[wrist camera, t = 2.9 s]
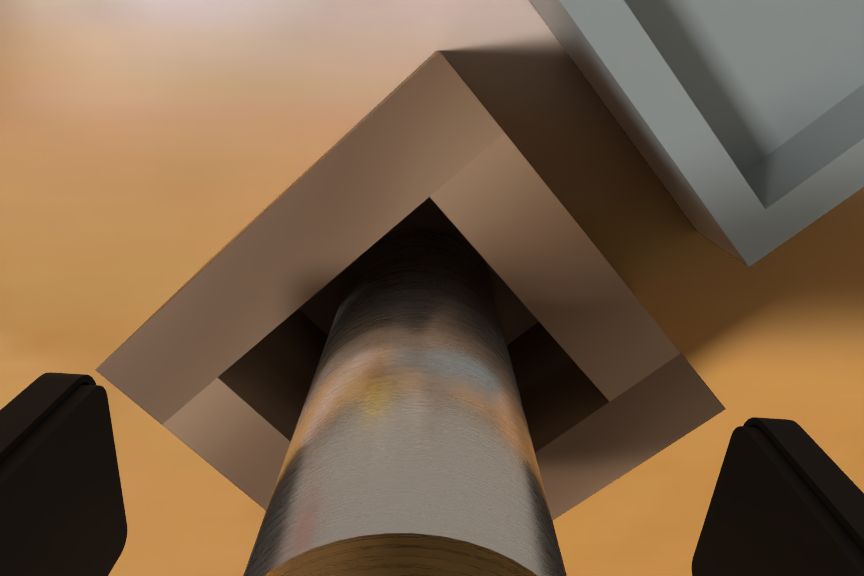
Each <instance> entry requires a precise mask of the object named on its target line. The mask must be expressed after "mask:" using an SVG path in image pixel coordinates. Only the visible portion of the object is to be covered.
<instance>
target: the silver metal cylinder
mask: <svg viewBox="0 0 864 576" xmlns="http://www.w3.org/2000/svg"><path fill="white" fill-rule="evenodd" d="M244 576H566V572H565V568H564V564H563V560H562V556H561V552H560V549H559V545H558V541H557V537H556V533H555V529H554V525H553V522H552V518H551V514H550V510H549V506H548V502H547V498H546V495H545V491H544V487H543V483H542V479H541V475H540V472H539V468H538V464H537V460H536V456H535V452H534V448H533V445H532V441H531V437H530V433H529V429H528V425H527V421H526V418H525V414H524V410H523V406H522V402H521V398H520V394H519V391H518V387H517V383H516V379H515V375H514V371H513V367H512V364H511V360H510V356H509V352H508V348H507V344H506V341H505V337H504V333H503V329H502V325H501V321H500V317H499V314H498V310H497V306H496V302H495V298H494V294H493V290H492V287H491V283H490V279H489V275H488V272H487V270H486V267H485V265H484V263H483V262H482V260H481V258H480V257H479V256H478V254H477V253H476V252H475V251H474V250H473V249H472V248H471V247H470V246H469V245H468V244H467V243H466V242H464V241H463V240H462V239H460V238H459V237H457V236H455V235H453V234H451V233H449V232H446V231H444V230H440V229H437V228H432V227H420V226H414V227H406V228H401V229H397V230H394V231H392V232H389V233H387V234H385V235H384V236H383V237H382V238H380V239H379V240H378V241H377V242H376V243H375V244H373V245H372V246H371V247H370V248H369V249H368V250H366V251H365V252H364V253H363V254H362V255H360V256H359V257H358V259H357V260H356V262H355V264H354V266H353V268H352V271H351V273H350V276H349V279H348V282H347V285H346V287H345V290H344V293H343V296H342V299H341V302H340V304H339V307H338V310H337V313H336V316H335V318H334V321H333V324H332V327H331V330H330V333H329V335H328V338H327V341H326V344H325V347H324V350H323V352H322V355H321V358H320V361H319V364H318V367H317V369H316V372H315V375H314V378H313V381H312V383H311V386H310V389H309V392H308V395H307V398H306V400H305V403H304V406H303V409H302V412H301V415H300V417H299V420H298V423H297V426H296V429H295V431H294V434H293V437H292V440H291V443H290V446H289V448H288V451H287V454H286V457H285V460H284V463H283V465H282V468H281V471H280V474H279V477H278V479H277V482H276V485H275V488H274V491H273V494H272V496H271V499H270V502H269V505H268V508H267V511H266V513H265V516H264V519H263V522H262V525H261V527H260V530H259V533H258V536H257V539H256V542H255V544H254V547H253V550H252V553H251V556H250V559H249V561H248V564H247V567H246V570H245V573H244Z"/></svg>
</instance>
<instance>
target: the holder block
mask: <svg viewBox="0 0 864 576" xmlns="http://www.w3.org/2000/svg"><path fill="white" fill-rule="evenodd" d="M414 226H420V227H432V228H437V229H440V230H444V231H446V232H449V233H451V234H453V235H455V236H457V237H459V238H460V239H462V240H463V241H464V242H466V243H467V244H468V245H469V246H470V247H471V248H472V249H473V250H474V251H475V252H476V253H477V254H478V256H479V257H480V258H481V260H482V262H483V263H484V265H485V267H486V270H487V272H488V275H489V279H490V283H491V287H492V290H493V294H494V298H495V302H496V306H497V310H498V314H499V317H500V321H501V325H502V329H503V333H504V337H505V341H506V344H507V348H508V352H509V356H510V360H511V364H512V367H513V371H514V375H515V379H516V383H517V387H518V391H519V394H520V398H521V402H522V406H523V410H524V414H525V418H526V421H527V425H528V429H529V433H530V437H531V441H532V445H533V448H534V452H535V456H536V460H537V464H538V468H539V472H540V475H541V479H542V483H543V487H544V491H545V495H546V498H547V502H548V506H549V510H550V514H551V518H552V521H553V520H554V519H556V518H557V517H559V516H561V515H562V514H564V513H565V512H567V511H568V510H570V509H571V508H573V507H574V506H576V505H578V504H579V503H581V502H582V501H584V500H585V499H587V498H588V497H590V496H592V495H593V494H595V493H596V492H598V491H599V490H601V489H602V488H604V487H606V486H607V485H609V484H610V483H612V482H613V481H615V480H616V479H618V478H619V477H621V476H623V475H624V474H626V473H627V472H629V471H630V470H632V469H633V468H635V467H637V466H638V465H640V464H641V463H643V462H644V461H646V460H647V459H649V458H651V457H652V456H654V455H655V454H657V453H658V452H660V451H661V450H663V449H664V448H666V447H668V446H669V445H671V444H672V443H674V442H675V441H677V440H678V439H680V438H682V437H683V436H685V435H686V434H688V433H689V432H691V431H692V430H694V429H696V428H697V427H699V426H700V425H702V424H703V423H705V422H706V421H708V420H710V419H711V418H713V417H714V416H716V415H717V414H719V413H720V412H722V411H723V410H725V407H724V406H723V405H722V404H721V402H720V401H719V400H718V399H717V397H716V396H715V395H714V394H713V392H712V391H711V390H710V389H709V387H708V386H707V385H706V384H705V382H704V381H703V380H702V379H701V377H700V376H699V375H698V374H697V372H696V371H695V370H694V369H693V367H692V366H691V365H690V364H689V362H688V361H687V360H686V359H685V357H684V356H683V355H682V354H681V352H680V351H679V350H678V349H677V347H676V346H675V345H674V344H673V342H672V341H671V340H670V339H669V337H668V336H667V335H666V334H665V332H664V331H663V330H662V329H661V327H660V326H659V325H658V324H657V322H656V321H655V320H654V319H653V317H652V316H651V315H650V314H649V312H648V311H647V310H646V309H645V307H644V306H643V305H642V304H641V302H640V301H639V300H638V299H637V297H636V296H635V295H634V294H633V292H632V291H631V290H630V289H629V287H628V286H627V285H626V284H625V282H624V281H623V280H622V279H621V277H620V276H619V275H618V274H617V272H616V271H615V270H614V269H613V267H612V266H611V265H610V264H609V262H608V261H607V260H606V259H605V257H604V256H603V255H602V254H601V252H600V251H599V250H598V249H597V247H596V246H595V245H594V244H593V242H592V241H591V240H590V239H589V237H588V236H587V235H586V234H585V232H584V231H583V230H582V229H581V227H580V226H579V225H578V224H577V222H576V221H575V220H574V219H573V217H572V216H571V215H570V214H569V212H568V211H567V210H566V209H565V207H564V206H563V205H562V204H561V202H560V201H559V200H558V199H557V197H556V196H555V195H554V194H553V192H552V191H551V190H550V189H549V187H548V186H547V185H546V184H545V182H544V181H543V180H542V179H541V177H540V176H539V175H538V174H537V172H536V171H535V170H534V169H533V167H532V166H531V165H530V164H529V162H528V161H527V160H526V159H525V157H524V156H523V155H522V154H521V152H520V151H519V150H518V149H517V147H516V146H515V145H514V144H513V142H512V141H511V140H510V139H509V137H508V136H507V135H506V134H505V132H504V131H503V130H502V129H501V127H500V126H499V125H498V124H497V122H496V121H495V120H494V119H493V117H492V116H491V115H490V114H489V112H488V111H487V110H486V109H485V107H484V106H483V105H482V104H481V102H480V101H479V100H478V99H477V97H476V96H475V95H474V94H473V92H472V91H471V90H470V89H469V87H468V86H467V85H466V84H465V82H464V81H463V80H462V79H461V77H460V76H459V75H458V74H457V72H456V71H455V70H454V69H453V67H452V66H451V65H450V64H449V62H448V61H447V60H446V59H445V57H444V56H443V55H442V54H441V52H439V51H436V52H435V53H434V54H432V55H431V56H430V57H429V58H428V59H427V60H426V61H425V62H424V63H423V64H422V65H421V66H420V67H418V68H417V69H416V70H415V71H414V72H413V73H412V74H411V75H410V76H409V77H408V78H407V79H405V80H404V81H403V82H402V83H401V84H400V85H399V86H398V87H397V88H396V89H395V90H394V91H392V92H391V93H390V94H389V95H388V96H387V97H386V98H385V99H384V100H383V101H382V102H381V103H380V104H378V105H377V106H376V107H375V108H374V109H373V110H372V111H371V112H370V113H369V114H368V115H367V116H365V117H364V118H363V119H362V120H361V121H360V122H359V123H358V124H357V125H356V126H355V127H354V128H352V129H351V130H350V131H349V132H348V133H347V134H346V135H345V136H344V137H343V138H342V139H341V140H339V141H338V142H337V143H336V144H335V145H334V146H333V147H332V148H331V149H330V150H329V151H328V152H327V153H325V154H324V155H323V156H322V157H321V158H320V159H319V160H318V161H317V162H316V163H315V164H314V165H312V166H311V167H310V168H309V169H308V170H307V171H306V172H305V173H304V174H303V175H302V176H301V177H299V178H298V179H297V180H296V181H295V182H294V183H293V184H292V185H291V186H290V187H289V188H288V189H287V190H285V191H284V192H283V193H282V194H281V195H280V196H279V197H278V198H277V199H276V200H275V201H274V202H272V203H271V204H270V205H269V206H268V207H267V208H266V209H265V210H264V211H263V212H262V213H261V214H259V215H258V216H257V217H256V218H255V219H254V220H253V221H252V222H251V223H250V224H249V225H248V226H246V227H245V228H244V229H243V230H242V231H241V232H240V233H239V234H238V235H237V236H236V237H235V238H234V239H232V240H231V241H230V242H229V243H228V244H227V245H226V246H225V247H224V248H223V249H222V250H221V251H219V252H218V253H217V254H216V255H215V256H214V257H213V258H212V259H211V260H210V261H209V262H208V263H206V264H205V265H204V266H203V267H202V268H201V269H200V270H199V271H198V272H197V273H196V274H195V275H194V276H193V277H192V278H191V279H190V280H189V281H188V282H186V283H185V284H184V285H183V286H182V287H181V288H180V289H179V290H178V291H177V292H176V293H175V294H174V295H173V296H172V297H171V298H170V299H169V300H168V301H167V302H166V303H165V304H164V305H162V306H161V307H160V308H159V309H158V310H157V311H156V312H155V313H154V314H153V315H152V316H151V317H150V318H149V319H148V320H147V321H146V322H145V323H144V324H143V325H142V326H141V327H140V328H138V329H137V330H136V331H135V332H134V333H133V334H132V335H131V336H130V337H129V338H128V339H127V340H126V341H125V342H124V343H123V344H122V345H121V346H120V347H119V348H118V349H117V350H116V351H115V352H113V353H112V354H111V355H110V356H109V357H108V358H107V359H106V360H105V361H104V362H103V363H102V364H101V365H100V366H99V367H98V368H97V369H96V371H97V372H98V373H100V374H101V375H102V376H103V377H105V378H106V379H107V380H108V381H109V382H111V383H112V384H113V385H114V386H115V387H117V388H118V389H119V390H120V391H122V392H123V393H124V394H125V395H126V396H128V397H129V398H130V399H131V400H132V401H134V402H135V403H136V404H137V405H139V406H140V407H141V408H142V409H143V410H145V411H146V412H147V413H148V414H149V415H151V416H152V417H153V418H154V419H156V420H157V421H158V422H159V423H160V424H162V425H163V426H164V427H165V428H166V429H168V430H169V431H170V432H171V433H173V434H174V435H175V436H176V437H177V438H179V439H180V440H181V441H182V442H183V443H185V444H186V445H187V446H188V447H189V448H191V449H192V450H193V451H194V452H196V453H197V454H198V455H199V456H200V457H202V458H203V459H204V460H205V461H206V462H208V463H209V464H210V465H211V466H213V467H214V468H215V469H216V470H217V471H219V472H220V473H221V474H222V475H223V476H225V477H226V478H227V479H228V480H230V481H231V482H232V483H233V484H234V485H236V486H237V487H238V488H239V489H240V490H242V491H243V492H244V493H245V494H247V495H248V496H249V497H250V498H251V499H253V500H254V501H255V502H256V503H257V504H259V505H260V506H261V507H262V508H264V509H265V510H266V511H267V508H268V505H269V502H270V499H271V496H272V494H273V491H274V488H275V485H276V482H277V479H278V477H279V474H280V471H281V468H282V465H283V463H284V460H285V457H286V454H287V451H288V448H289V446H290V443H291V440H292V437H293V434H294V431H295V429H296V426H297V423H298V420H299V417H300V415H301V412H302V409H303V406H304V403H305V400H306V398H307V395H308V392H309V389H310V386H311V383H312V381H313V378H314V375H315V372H316V369H317V367H318V364H319V361H320V358H321V355H322V352H323V350H324V347H325V344H326V341H327V338H328V335H329V333H330V330H331V327H332V324H333V321H334V318H335V316H336V313H337V310H338V307H339V304H340V302H341V299H342V296H343V293H344V290H345V287H346V285H347V282H348V279H349V276H350V273H351V271H352V268H353V266H354V264H355V262H356V260H357V259H358V257H359V256H360V255H362V254H363V253H364V252H365V251H366V250H368V249H369V248H370V247H371V246H372V245H373V244H375V243H376V242H377V241H378V240H379V239H380V238H382V237H383V236H384V235H385V234H387V233H389V232H392V231H394V230H397V229H401V228H406V227H414Z"/></svg>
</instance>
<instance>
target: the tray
mask: <svg viewBox="0 0 864 576" xmlns="http://www.w3.org/2000/svg"><path fill="white" fill-rule="evenodd" d="M529 1H530V3H531V4H532V5H533V7H534V8H535V9H536V11H537V12H538V14H539V15H540V16H541V18H542V19H543V20H544V22H545V23H546V25H547V26H548V27H549V29H550V30H551V31H552V33H553V34H554V36H555V37H556V38H557V40H558V41H559V42H560V44H561V45H562V46H563V48H564V49H565V51H566V52H567V53H568V55H569V56H570V57H571V59H572V60H573V62H574V63H575V64H576V66H577V67H578V68H579V70H580V71H581V73H582V74H583V75H584V77H585V78H586V79H587V81H588V82H589V84H590V85H591V86H592V88H593V89H594V90H595V92H596V93H597V95H598V96H599V97H600V99H601V100H602V101H603V103H604V104H605V106H606V107H607V108H608V110H609V111H610V112H611V114H612V115H613V117H614V118H615V119H616V121H617V122H618V123H619V125H620V126H621V127H622V129H623V130H624V132H625V133H626V134H627V136H628V137H629V138H630V140H631V141H632V143H633V144H634V145H635V147H636V148H637V149H638V151H639V152H640V154H641V155H642V156H643V158H644V159H645V160H646V162H647V163H648V165H649V166H650V167H651V169H652V170H653V171H654V173H655V174H656V176H657V177H658V178H659V180H660V181H661V182H662V184H663V185H664V187H665V188H666V189H667V191H668V192H669V193H670V195H671V196H672V198H673V199H674V200H675V202H676V203H677V204H678V206H679V207H680V208H681V210H682V211H683V213H684V214H685V215H686V217H687V218H688V219H689V221H690V222H691V224H692V225H693V226H694V228H695V229H696V230H697V232H698V233H700V234H701V235H703V236H704V237H706V238H707V239H709V240H710V241H712V242H713V243H714V244H716V245H717V246H719V247H720V248H722V249H723V250H725V251H726V252H728V253H729V254H731V255H732V256H734V257H735V258H736V259H738V260H739V261H741V262H742V263H744V264H745V265H747V266H748V267H750V266H752V265H753V264H755V263H756V262H757V261H759V260H760V259H762V258H763V257H765V256H766V255H767V254H769V253H770V252H772V251H773V250H775V249H776V248H777V247H779V246H780V245H782V244H783V243H784V242H786V241H787V240H789V239H790V238H792V237H793V236H794V235H796V234H797V233H799V232H800V231H802V230H803V229H804V228H806V227H807V226H809V225H810V224H812V223H813V222H814V221H816V220H817V219H819V218H820V217H822V216H823V215H824V214H826V213H827V212H829V211H830V210H832V209H833V208H834V207H836V206H837V205H839V204H840V203H842V202H843V201H844V200H846V199H847V198H849V197H850V196H852V195H853V194H854V193H856V192H857V191H859V190H860V189H862V188H863V187H864V0H529Z"/></svg>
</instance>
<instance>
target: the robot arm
mask: <svg viewBox="0 0 864 576" xmlns="http://www.w3.org/2000/svg"><path fill="white" fill-rule="evenodd" d="M126 538H127V522H126V516H125V509H124V503H123V496H122V489H121V483H120V476H119V470H118V463H117V457H116V450H115V444H114V437H113V430H112V424H111V417H110V411H109V404H108V398H107V393H106V390H105V389H104V387H102V386H97V385H96V383H95V381H94V379H93V378H92V377H91V376H89V375H82V374H66V373H45V374H43V375H41V376H40V377H38V378H37V379H36V380H35V381H34V382H33V383H32V384H30V385H29V386H28V387H27V388H26V389H25V390H23V391H22V392H21V393H20V394H19V395H18V396H16V397H15V398H14V399H13V400H12V401H11V402H9V403H8V404H7V405H6V406H5V407H4V408H2V409H1V410H0V576H108V575H109V573H110V571H111V570H112V568H113V566H114V565H115V563H116V561H117V560H118V558H119V556H120V555H121V553H122V551H123V548H124V545H125V542H126ZM692 576H864V493H863V492H862V491H861V490H860V489H859V488H858V487H857V486H856V485H855V484H854V483H853V482H852V481H851V480H850V479H849V477H848V476H847V475H846V474H845V473H844V472H843V471H842V470H841V469H840V468H839V467H838V466H837V465H836V464H835V463H834V462H833V461H832V459H831V458H830V457H829V456H828V455H827V454H826V453H825V452H824V451H823V450H822V449H821V448H820V447H819V446H818V445H817V444H816V443H815V441H814V440H813V439H812V438H811V437H810V436H809V435H808V434H807V433H806V432H805V431H804V430H803V429H802V428H801V427H800V426H799V425H798V424H797V423H796V422H794V421H792V420H785V419H770V418H754V417H753V418H750V419H748V420H747V421H746V422H745V423H744V426H740V427H737V428H736V429H735V430H734V431H733V433H732V436H731V439H730V442H729V445H728V448H727V452H726V455H725V458H724V461H723V464H722V468H721V471H720V474H719V477H718V480H717V483H716V487H715V490H714V493H713V496H712V499H711V502H710V506H709V509H708V512H707V515H706V518H705V522H704V525H703V528H702V531H701V534H700V537H699V541H698V544H697V547H696V550H695V553H694V556H693V561H692Z"/></svg>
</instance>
